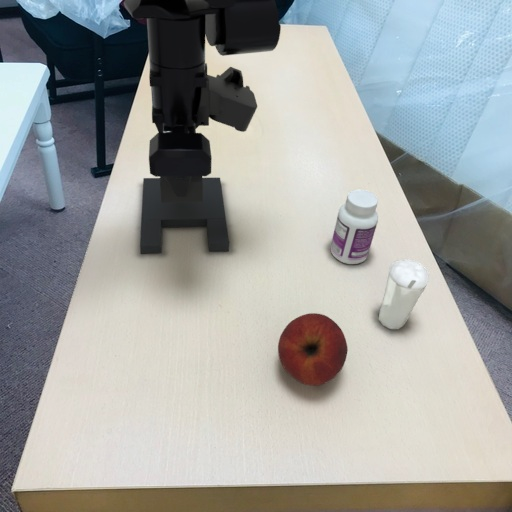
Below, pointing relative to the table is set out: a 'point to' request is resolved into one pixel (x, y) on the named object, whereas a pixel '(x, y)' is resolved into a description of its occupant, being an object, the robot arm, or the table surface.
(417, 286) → the milkshake
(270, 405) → the table surface
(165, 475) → the table surface
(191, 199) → the black block
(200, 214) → the base pad
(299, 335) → the apple
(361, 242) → the pill bottle
